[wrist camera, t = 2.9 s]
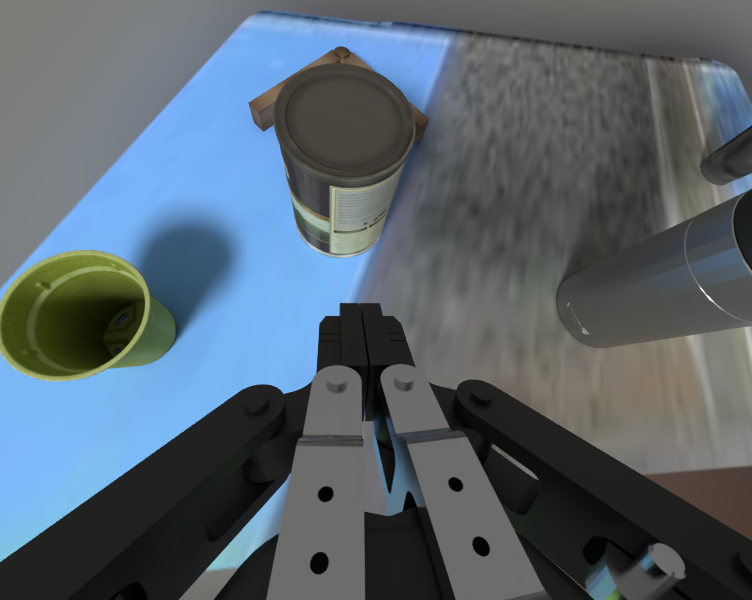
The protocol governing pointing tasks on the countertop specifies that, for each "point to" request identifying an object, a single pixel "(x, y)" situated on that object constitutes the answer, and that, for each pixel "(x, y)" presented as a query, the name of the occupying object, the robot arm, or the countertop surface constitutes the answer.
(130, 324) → the plant pot
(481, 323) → the countertop surface
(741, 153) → the beverage cup
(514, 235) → the countertop surface
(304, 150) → the coffee can
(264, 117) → the bracket
